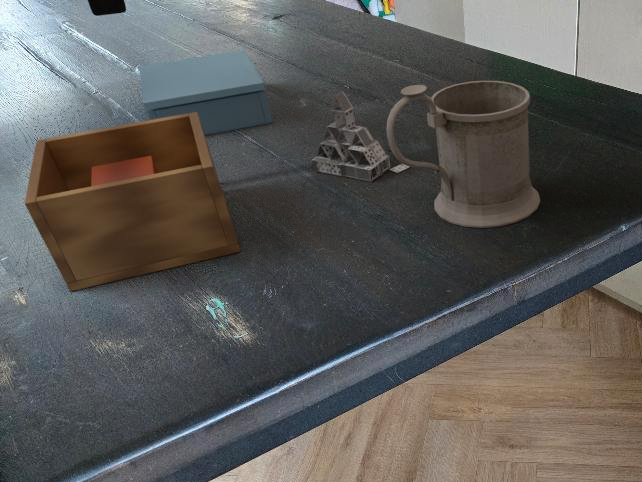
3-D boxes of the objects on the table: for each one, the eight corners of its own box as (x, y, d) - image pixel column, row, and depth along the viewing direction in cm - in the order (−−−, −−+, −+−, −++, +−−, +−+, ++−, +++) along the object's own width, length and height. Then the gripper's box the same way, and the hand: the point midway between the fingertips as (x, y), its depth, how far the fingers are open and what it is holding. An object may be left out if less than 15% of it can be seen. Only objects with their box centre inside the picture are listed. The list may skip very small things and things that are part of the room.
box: (274, 128, 84) (265, 91, 81) (160, 150, 81) (146, 111, 78) (256, 91, 94) (246, 56, 92) (154, 109, 91) (141, 73, 88)
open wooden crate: (70, 292, 59) (24, 203, 54) (74, 220, 68) (35, 140, 63) (240, 252, 63) (212, 165, 58) (222, 190, 72) (197, 111, 67)
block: (114, 242, 63) (90, 189, 60) (114, 218, 67) (91, 166, 63) (174, 229, 65) (154, 176, 61) (171, 206, 68) (151, 155, 65)
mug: (493, 170, 73) (485, 43, 65) (561, 201, 67) (561, 66, 59) (372, 219, 66) (347, 84, 58) (437, 259, 60) (419, 115, 52)
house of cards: (430, 151, 77) (421, 77, 72) (384, 185, 71) (371, 107, 66) (361, 140, 80) (348, 68, 75) (312, 171, 75) (294, 96, 70)
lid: (265, 89, 81) (263, 82, 80) (145, 110, 77) (142, 103, 77) (246, 56, 92) (245, 49, 91) (141, 73, 88) (138, 66, 88)
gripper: (-11, -220, 67) (72, 1, 78) (-32, -219, 56) (68, 35, 68) (78, -222, 69) (146, -7, 81) (74, -222, 58) (153, 25, 70)
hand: (110, 12), depth 74 cm, fingers closed
